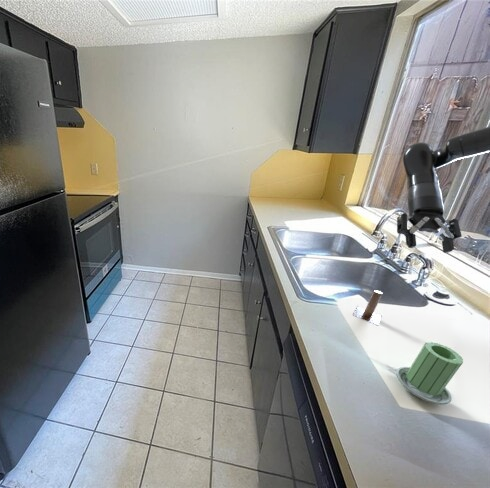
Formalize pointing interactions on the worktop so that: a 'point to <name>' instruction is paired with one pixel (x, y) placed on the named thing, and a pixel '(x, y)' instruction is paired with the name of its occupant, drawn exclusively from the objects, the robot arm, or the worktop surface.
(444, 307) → the worktop surface
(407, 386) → the saucer
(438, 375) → the hollow cylinder
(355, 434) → the worktop surface
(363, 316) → the stand
